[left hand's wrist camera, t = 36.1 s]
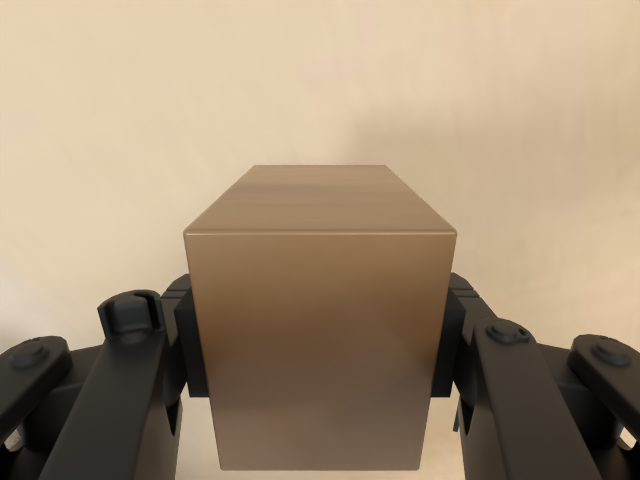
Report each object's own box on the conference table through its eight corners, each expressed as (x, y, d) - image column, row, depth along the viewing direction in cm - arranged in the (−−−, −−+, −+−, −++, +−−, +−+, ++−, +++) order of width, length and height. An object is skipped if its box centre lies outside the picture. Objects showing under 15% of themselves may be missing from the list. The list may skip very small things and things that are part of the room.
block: (375, 310, 16) (420, 472, 9) (263, 310, 16) (219, 472, 9) (386, 164, 14) (459, 230, 7) (253, 164, 14) (180, 230, 6)
